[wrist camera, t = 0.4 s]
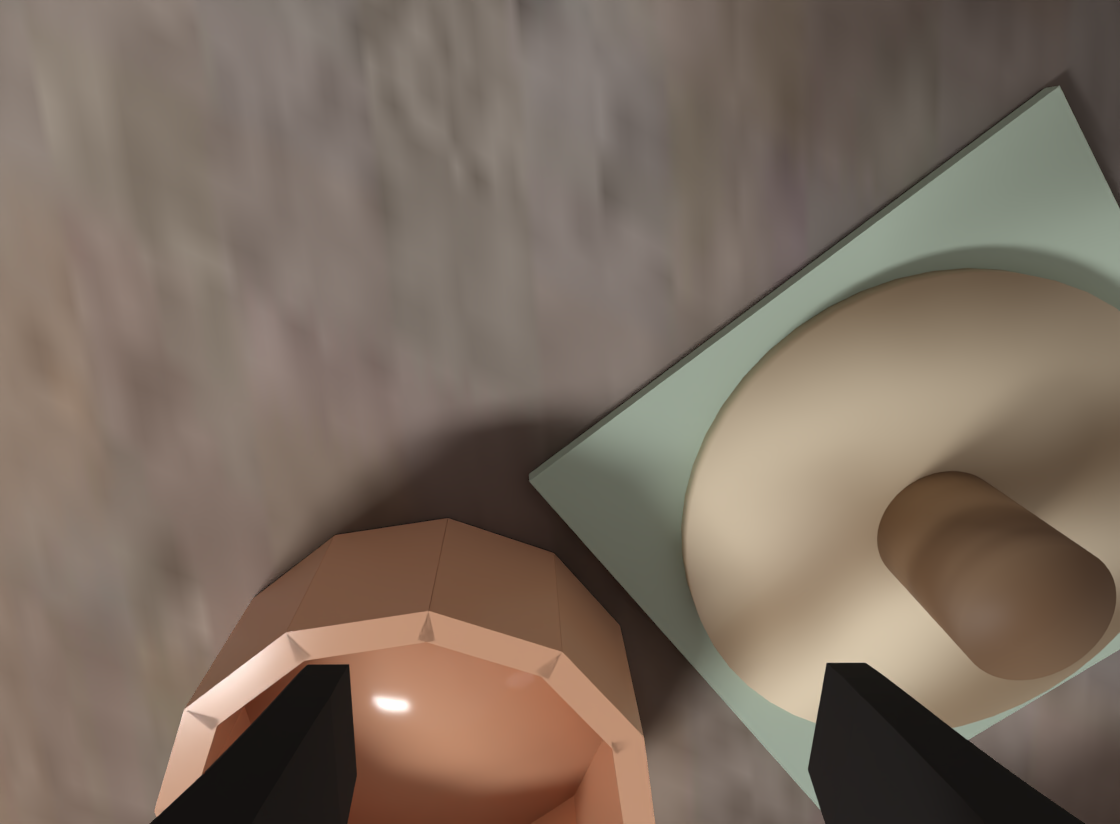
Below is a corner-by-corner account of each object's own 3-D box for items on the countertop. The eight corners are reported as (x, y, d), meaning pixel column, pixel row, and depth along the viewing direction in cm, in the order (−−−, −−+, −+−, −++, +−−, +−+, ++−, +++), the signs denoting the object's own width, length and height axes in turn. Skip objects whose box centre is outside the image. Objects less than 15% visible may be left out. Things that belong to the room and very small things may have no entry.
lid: (1241, 545, 22) (1433, 646, 17) (840, 787, 24) (915, 933, 19) (1038, 149, 18) (1218, 144, 13) (580, 485, 20) (598, 580, 15)
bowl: (701, 715, 23) (742, 839, 19) (417, 899, 25) (395, 1050, 21) (454, 443, 20) (435, 519, 15) (147, 680, 22) (55, 806, 17)
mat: (1270, 541, 22) (1286, 549, 22) (825, 809, 25) (831, 821, 24) (1044, 88, 18) (1059, 85, 17) (528, 473, 20) (528, 481, 20)
